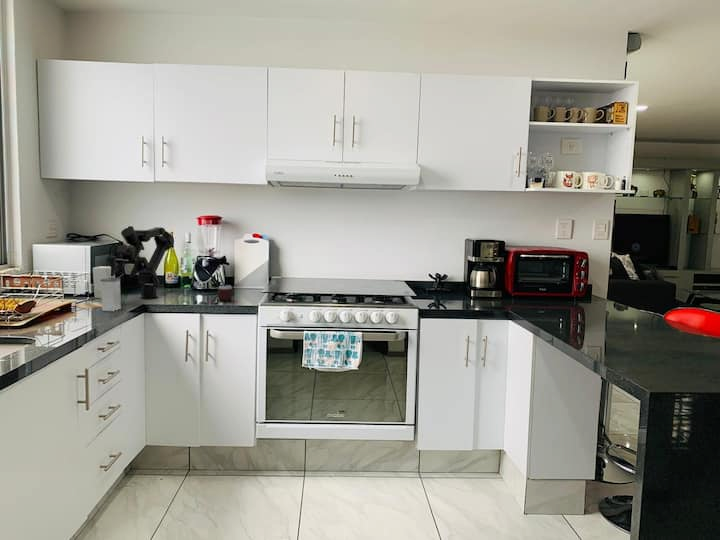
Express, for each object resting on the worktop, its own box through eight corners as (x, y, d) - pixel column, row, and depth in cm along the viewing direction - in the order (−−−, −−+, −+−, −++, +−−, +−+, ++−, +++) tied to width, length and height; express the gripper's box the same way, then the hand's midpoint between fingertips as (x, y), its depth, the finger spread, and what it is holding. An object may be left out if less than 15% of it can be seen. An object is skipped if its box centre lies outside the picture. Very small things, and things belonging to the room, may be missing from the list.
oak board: (97, 304, 258) (97, 302, 258) (110, 307, 251) (110, 304, 251) (71, 307, 249) (71, 305, 248) (84, 310, 241) (84, 308, 241)
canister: (109, 308, 244) (108, 277, 243) (121, 309, 243) (120, 278, 242) (101, 310, 238) (100, 279, 237) (113, 311, 238) (112, 279, 236)
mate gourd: (234, 302, 267) (234, 271, 265) (218, 303, 263) (217, 272, 262) (230, 299, 273) (230, 270, 272) (214, 300, 270) (214, 270, 268)
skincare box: (116, 297, 275) (115, 266, 274) (107, 299, 269) (106, 267, 267) (102, 296, 277) (101, 265, 276) (93, 298, 271) (92, 267, 269)
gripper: (107, 238, 253) (93, 264, 243) (145, 239, 250) (133, 265, 240) (117, 254, 261) (104, 279, 251) (154, 255, 259) (142, 281, 249)
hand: (120, 276), depth 248 cm, fingers open, 9 cm apart
